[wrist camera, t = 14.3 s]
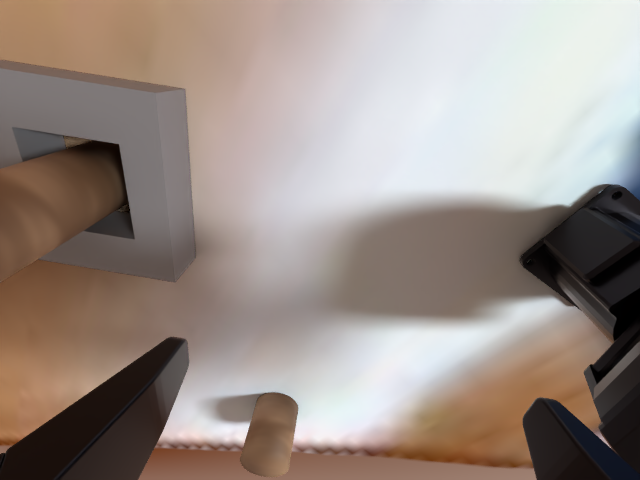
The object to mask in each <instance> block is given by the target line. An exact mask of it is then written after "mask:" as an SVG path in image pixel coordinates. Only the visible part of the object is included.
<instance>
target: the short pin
mask: <svg viewBox="0 0 640 480" xmlns="http://www.w3.org/2000/svg"><path fill="white" fill-rule="evenodd" d="M297 414H298V405H297V403H296V402H295V401H294V400H293V399H292V398H291V397H289V396H287V395H285V394H281V393H275V392H271V393H266V394H263V395H261V396H260V397H259V398H258V399H257V402H256V405H255V409H254V412H253V416H252V419H251V423H250V426H249V430H248V433H247V437H246V440H245V444H244V447H243V451H242V454H241V457H240V462H241V464H242V466H243V467H244V468H245V469H246V470H248V471H249V472H251V473H253V474H256V475H259V476H264V477H277V476H281V475H283V474H285V473H286V472H287V471H288V469H289V464H290V458H291V451H292V445H293V439H294V432H295V426H296V420H297Z"/></svg>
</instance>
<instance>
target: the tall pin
mask: <svg viewBox="0 0 640 480" xmlns="http://www.w3.org/2000/svg"><path fill="white" fill-rule="evenodd" d="M127 203H129V201H128V195H127V189H126V183H125V177H124V171H123V165H122V159H121V153H120V147H119V144H115V143H109V142H103V141H97V140H95V141H91V142H88V143H85V144H81V145H78V146H75V147H71V148H68V149H65V150H61V151H58V152H55V153H51V154H48V155H45V156H41V157H38V158H35V159H31V160H28V161H25V162H21V163H18V164H15V165H11V166H8V167H5V168H1V169H0V283H1V282H2V281H4V280H5V279H7V278H9V277H10V276H12V275H13V274H15V273H17V272H18V271H20V270H21V269H23V268H25V267H26V266H28V265H29V264H31V263H33V262H34V261H36V260H37V259H39V258H41V257H42V256H44V255H45V254H47V253H49V252H50V251H52V250H54V249H55V248H57V247H58V246H60V245H62V244H63V243H65V242H66V241H68V240H70V239H71V238H73V237H74V236H76V235H78V234H79V233H81V232H82V231H84V230H86V229H87V228H89V227H90V226H92V225H94V224H95V223H97V222H98V221H100V220H102V219H103V218H105V217H106V216H108V215H110V214H111V213H113V212H114V211H116V210H118V209H119V208H121V207H122V206H124V205H126V204H127Z"/></svg>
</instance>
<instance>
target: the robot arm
mask: <svg viewBox="0 0 640 480" xmlns="http://www.w3.org/2000/svg"><path fill="white" fill-rule="evenodd" d="M615 192H617V194H616V195H615V196H613V197H612V195H613V194H614V193H615ZM530 259H532V261H530V262H527V261H528V260H530ZM520 263H521V264H522V265H523V267H524V268H526V269H527V270H528V271H529V272H531V273H532V274H533V275H535V276H536V277H537V278H539V279H540V280H541V281H543V282H544V283H545V284H547V285H548V286H549V287H551V288H552V289H553V290H555V291H556V292H557V293H559V294H560V295H561V296H563V297H564V298H565V299H566V300H568V301H569V302H570V303H572V304H573V305H574V306H576V307H577V308H578V309H580V310H581V311H583V312H584V314H585V315H586V316H587V317H588V318H589V319H590V320H591V321H592V322H593V323H594V324H595V325H596V326H597V327H598V329H599V330H600V331H601V332H602V333H603V334H604V335H605V336H606V337H607V338H608V339H609V340H610V341H611V342H612V345H611V346H610V347H609V348H608V349H607V350H606V351H605V352H604V354H603V355H602V356H601V357H600V358H599V359H598V360H597V361H596V362H595V363H594V364H593V365H592V364H590V365H589V366H588V367H587V369H586V370H585V371H584V375H585V378H586V381H587V383H588V386H589V389H590V392H591V394H592V397H593V401H594V404H595V406H596V409H597V411H598V414H599V417H600V419H601V423H600V424H599V429H600V432H601V434H602V436H603V437H604V438H605V440H606V441H607V443H608V444H609V445H610V447H611V448H612V449H611V448H610V447H609V446H608V445H606V444H605V443H604V442H603V441H602V440H601V439H600V438H599V437H598V436H596V435H595V434H594V433H593V432H592V431H591V430H590V429H589V428H587V427H586V426H585V425H584V424H583V423H582V422H581V421H580V420H578V419H577V418H576V417H575V416H574V415H573V414H572V413H571V412H570V411H568V410H567V409H566V408H565V407H564V406H563V405H562V404H561V403H559V402H558V401H556V400H553V399H548V398H541V397H540V398H537V399H536V400H535V401H534V402H533V404H532V405H531V406H530V408H529V409H528V410H527V412H526V413H525V415H524V417H523V428H524V432H525V436H526V440H527V443H528V447H529V451H530V455H531V459H532V463H533V467H534V471H535V474H536V478H537V480H640V201H639V200H638V199H637V198H636V197H635V196H634V195H633V194H632V193H630V192H629V191H628V190H627V189H626V188H624V187H622V186H620V185H611V186H609V187H607V188H606V189H604V190H603V191H602V192H601V193H599V194H598V195H597V196H596V197H594V198H593V199H592V200H591V201H589V202H588V203H587V204H586V205H584V206H583V207H582V208H581V209H579V210H578V211H577V212H576V213H574V214H573V215H572V216H571V217H569V218H568V219H567V220H566V221H564V222H563V223H562V224H561V225H559V226H558V227H557V228H556V229H554V230H553V231H552V232H551V233H549V234H548V235H547V236H546V237H544V238H543V239H542V240H541V241H539V242H538V243H537V244H536V245H534V246H533V247H532V248H531V249H529V250H528V251H527V252H526V253H524V254H523V255H522V256H521V258H520ZM188 366H189V354H188V343H187V340H186V339H183V338H177V337H169V338H167V339H166V340H164V341H163V342H161V343H160V344H159V345H157V346H156V347H154V348H153V349H151V350H150V351H148V352H147V353H146V354H144V355H143V356H141V357H140V358H138V359H137V360H136V361H134V362H133V363H131V364H130V365H128V366H127V367H125V368H124V369H123V370H121V371H120V372H118V373H117V374H115V375H114V376H112V377H111V378H110V379H108V380H107V381H105V382H104V383H102V384H101V385H99V386H98V387H97V388H95V389H94V390H92V391H91V392H89V393H88V394H87V395H85V396H84V397H82V398H81V399H79V400H78V401H76V402H75V403H74V404H72V405H71V406H69V407H68V408H66V409H65V410H63V411H62V412H61V413H59V414H58V415H56V416H55V417H53V418H52V419H51V420H49V421H48V422H46V423H45V424H43V425H42V426H40V427H39V428H38V429H36V430H35V431H33V432H32V433H30V434H29V435H27V436H26V437H25V438H23V439H22V440H20V441H19V442H17V443H16V444H14V445H13V446H12V447H10V448H9V449H8V450H7V451H6V453H1V454H0V480H138V479H139V477H140V475H141V473H142V471H143V469H144V467H145V465H146V463H147V461H148V459H149V457H150V455H151V453H152V451H153V450H154V448H155V446H156V444H157V442H158V440H159V438H160V436H161V434H162V432H163V429H164V427H165V425H166V422H167V420H168V417H169V415H170V412H171V410H172V407H173V405H174V402H175V400H176V397H177V395H178V392H179V390H180V387H181V385H182V382H183V380H184V377H185V375H186V372H187V369H188Z"/></svg>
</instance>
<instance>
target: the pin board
mask: <svg viewBox="0 0 640 480" xmlns="http://www.w3.org/2000/svg"><path fill="white" fill-rule="evenodd" d="M63 135H66V136H72V137H78V138H84V139H90V140H97V141H103V142H109V143H115V144H119V147H120V153H121V159H122V165H123V171H124V177H125V183H126V189H127V195H128V201H129V207H130V213H125V212H119V211H114V212H113V213H111V214H110V215H108V216H106V217H105V218H103V219H102V220H100V221H98V222H97V223H95V224H94V225H92V226H90V227H89V228H87V229H86V230H84V231H82V232H81V233H79V234H78V235H76V236H74V237H73V238H71V239H70V240H68V241H66V242H65V243H63V244H62V245H60V246H58V247H57V248H55V249H54V250H52V251H50V252H49V253H47V254H45V255H44V256H42V257H41V258H39V259H38V260H44V261H50V262H56V263H62V264H68V265H74V266H80V267H86V268H92V269H98V270H104V271H110V272H116V273H122V274H128V275H134V276H140V277H146V278H152V279H158V280H164V281H170V282H176V281H177V280H178V278H179V277H180V276H181V275H182V274H183V272H184V271H185V270H186V269H187V267H188V266H189V265H190V264H191V263H192V261H193V260H194V259H195V258H196V255H195V239H194V223H193V207H192V191H191V175H190V159H189V143H188V127H187V111H186V95H185V89H182V88H176V87H170V86H163V85H157V84H151V83H145V82H138V81H132V80H126V79H119V78H113V77H107V76H100V75H94V74H88V73H82V72H75V71H69V70H63V69H56V68H50V67H44V66H37V65H31V64H25V63H18V62H12V61H6V60H0V169H1V168H5V167H8V166H11V165H15V164H18V163H21V162H25V161H28V160H31V159H35V158H38V157H41V156H45V155H48V154H51V153H55V152H58V151H61V150H65V149H66V145H65V141H64V137H63Z"/></svg>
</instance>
